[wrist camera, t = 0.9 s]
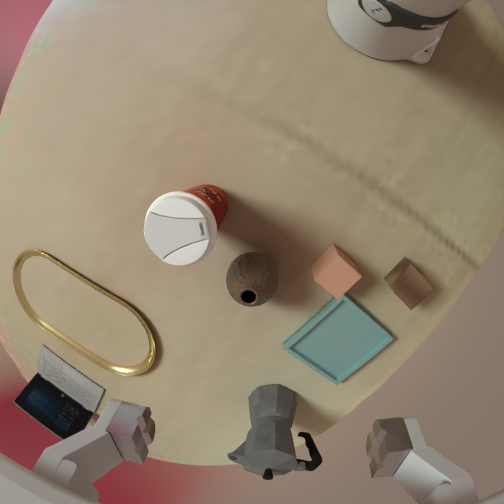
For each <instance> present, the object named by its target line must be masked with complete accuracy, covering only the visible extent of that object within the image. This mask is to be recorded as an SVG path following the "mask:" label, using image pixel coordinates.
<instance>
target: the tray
mask: <svg viewBox="0 0 504 504" xmlns="http://www.w3.org/2000/svg"><path fill="white" fill-rule="evenodd" d="M393 339H394V338H393V336H392V334H391V333H390V332H389V331H388V330H386V329H385V328H384V327H383V326H382V325H381V324H380V323H379V322H377V321H376V320H375V319H374V318H373V317H372V316H371V315H370V314H368V313H367V312H366V311H365V310H364V309H363V308H362V307H361V306H359V305H358V304H357V303H356V302H355V301H354V300H353V299H352V298H350V297H349V296H348V295H347V294H346V293H344V294H343V295H342V296H341V297H340V298H339V299H338V300H337V299H336V298H335V297H333V298H332V299H331V300H330V301H329V302H328V303H327V304H326V305H325V306H324V307H323V308H322V309H321V310H320V311H319V312H317V313H316V314H315V315H314V316H313V317H312V318H311V319H310V320H309V321H308V322H306V323H305V324H304V325H303V326H302V327H301V328H300V329H299V330H298V331H296V332H295V333H294V334H293V335H292V336H291V337H290V338H288V339H287V340H286V341H285V342H284V343H283V349H285V350H286V351H288V352H289V353H290V354H292V355H293V356H295V357H296V358H298V359H299V360H301V361H302V362H303V363H305V364H306V365H308V366H309V367H311V368H312V369H314V370H315V371H317V372H318V373H320V374H321V375H323V376H324V377H326V378H327V379H329V380H330V381H332V382H333V383H335V384H336V385H337V384H339V383H340V382H341V381H343V380H344V379H345V378H347V377H348V376H349V375H351V374H352V373H353V372H355V371H356V370H357V369H358V368H360V367H361V366H362V365H363V364H365V363H366V362H367V361H368V360H370V359H371V358H372V357H373V356H375V355H376V354H377V353H378V352H379V351H381V350H382V349H383V348H384V347H385V346H386V345H388V344H389V343H390V342H391V341H392V340H393Z"/></svg>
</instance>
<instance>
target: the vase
mask: <svg viewBox="0 0 504 504" xmlns="http://www.w3.org/2000/svg"><path fill="white" fill-rule="evenodd" d="M226 284H227V288H228V291H229V293H230V295H231V296H232V298H233V299H234V300H235V301H237V302H238V303H240V304H242V305H244V306H250V307H254V306H259V305H262V304H264V303H265V302H267V301H268V300H269V299H270V298H271V297H272V296H273V294H274V293H275V291H276V288H277V285H278V273H277V269H276V267H275V265H274V263H273V262H272V261H271V259H269V258H268V257H267V256H265V255H264V254H261V253H258V252H248V253H244V254H242V255H240V256H238V257H237V258H236V259H235V260H234V261H233V262H232V263H231V265H230V267H229V269H228V272H227V276H226Z"/></svg>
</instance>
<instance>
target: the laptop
mask: <svg viewBox="0 0 504 504" xmlns="http://www.w3.org/2000/svg"><path fill="white" fill-rule="evenodd" d="M38 372H39V373H40V374H39V373H37V374H36V375H35V376H34V377H33V378H32V380H31V381H30V382H29V383H28V384H27V385H26V387H25V388H24V389H23V390H22V391H21V393H20V394H19V395H18V397H16V399H15V400H14V401H13V402H14V403H15V404H16V405H17V406H19V407H20V408H21V409H22V410H23V411H25V412H26V413H27V414H28V415H30V416H31V417H32V418H33V419H35V420H36V421H38V422H39V423H40V424H41V425H43V426H44V427H45V428H47V429H48V430H50V431H51V432H52V433H54V434H55V435H57V436H58V437H60V438H61V439H62V440H64V439H66V438H68V437H70V436H72V435H74V434H76V433H78V432H80V431H82V430H84V429H85V427H86V426H87V424H88V422H89V421H90V419H91V417H92V416H93V414H94V413H93V412H95V410H96V408H97V406H98V403H99V401H100V399H101V396H102V394H103V392H104V389H103V388H102V387H100V386H99V385H97V384H96V383H94V382H93V381H91V380H90V379H88V378H87V377H85V376H84V375H82V374H81V373H79V372H78V371H77V370H75V369H74V368H73V367H71V366H70V365H68V364H67V363H66V362H64V361H63V360H62V359H60V358H59V357H58V356H56V355H55V354H54V353H53V352H51V351H50V350H49V349H48V348H46V347H45V346H44V345H41V351H40V359H39V367H38ZM41 376H42V377H41ZM46 380H47V381H46ZM48 380H49V381H48ZM52 383H53V384H54V385H53V384H52ZM56 386H57V387H58V388H57V387H56ZM60 389H61V390H60ZM64 392H65V393H64ZM68 395H69V396H68ZM71 397H72V398H71ZM74 399H75V400H74ZM85 408H86V409H85ZM88 410H89V411H88ZM92 411H93V412H92Z"/></svg>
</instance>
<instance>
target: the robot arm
mask: <svg viewBox="0 0 504 504" xmlns="http://www.w3.org/2000/svg"><path fill="white" fill-rule="evenodd" d="M470 1H471V0H328V3H327V9H328V15H329V18H330V21H331V23H332V25H333V27H334V29H335V30H336V32H337V33H338V34H339V35H340V37H341V38H342V39H343V40H344V41H345V42H346V43H348V44H349V45H350V46H351V47H353V48H354V49H356V50H357V51H359V52H361V53H363V54H365V55H367V56H370V57H373V58H376V59H380V60H390V61H392V60H409V61H412V62H415V63H419V64H425V63H427V62H428V61H429V60H430V58H431V56H432V54H433V52H434V50H435V48H436V46H437V44H438V42H439V40H440V38H441V36H442V34H443V32H444V29H445V27H446V25H447V23H448V21H449V20H450V19H451V18H452V17H453V16H454V15H455V14H456V12H457V11H458V9H459V8H460V7H462V6H463V5H465V4H466V3H468V2H470ZM425 50H426V52H424V51H425ZM150 416H151V410H150V408H149V407H145V406H141V405H137V404H133V403H129V402H125V401H121V400H117V399H113V398H112V399H111V400H109V402H108V403H107V405H106V407H105V408H104V410H103V412H102V413H101V415H100V417H99V418H98V420H97V422H96V424H95V425H94V427H91V426H90V427H88V428H86V429H84V430H82V431H80V432H78V433H76V434H74V435H72V436H70V437H68V438H66V439H64V440H62V441H60V442H58V443H56V444H54V445H52V446H50V447H48V448H46V449H45V450H44V452H43V453H42V455H41V457H40V458H39V460H38V461H37V463H36V464H35V466H34V468H33V469H32V471H30V470H28V469H26V468H24V467H23V466H21V465H19V464H18V463H16V462H14V461H13V460H11V459H9V458H8V457H6V456H5V455H3V454H2V453H0V504H101V503H99V502H97V500H98V498H99V493H98V492H97V491H96V489H95V488H94V487H93V486H92V483H93V482H94V481H96V480H97V479H99V478H100V477H101V476H103V475H104V474H106V473H107V472H108V471H110V470H111V469H112V468H114V467H115V466H117V465H118V464H119V463H120V462H122V461H123V459H124V460H128V461H132V462H136V463H140V464H144V462H145V459H146V457H147V454H148V452H149V451H148V448H147V446H148V445H149V444H151V443H152V442H153V439H154V435H155V423H154V420H152V419H151V418H150ZM366 451H367V456H369V457H370V458H371V459H372V461H371V462H370V464H369V466H370V471H371V476H372V478H379V477H388V476H393V478H394V479H395V480H396V481H397V482H398V483H399V484H400V485H401V486H402V487H403V488H404V489H405V490H406V491H407V492H408V493H409V495H411V496H412V498H413V499H414V500H415V501H416V502H417V503H418V504H504V489H503V490H501V491H498V492H496V493H494V494H492V495H490V496H487V497H485V498H483V499H480V500H479V498H478V495H477V492H476V489H475V487H474V484H473V482H472V479H471V476H470V475H469V474H468V473H466V472H465V471H464V470H462V469H461V468H459V467H458V466H456V465H455V464H453V463H452V462H451V461H449V460H448V459H447V458H445V457H444V456H443V455H441V454H440V453H439V452H437V451H436V450H434V449H433V448H432V447H427V446H426V443H425V440H424V438H423V435H422V433H421V430H420V427H419V425H418V422H417V420H416V418H415V416H405V417H396V418H387V419H378V420H376V421H375V422H374V424H373V431H372V432H370V433H369V435H368V437H367V442H366Z"/></svg>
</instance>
